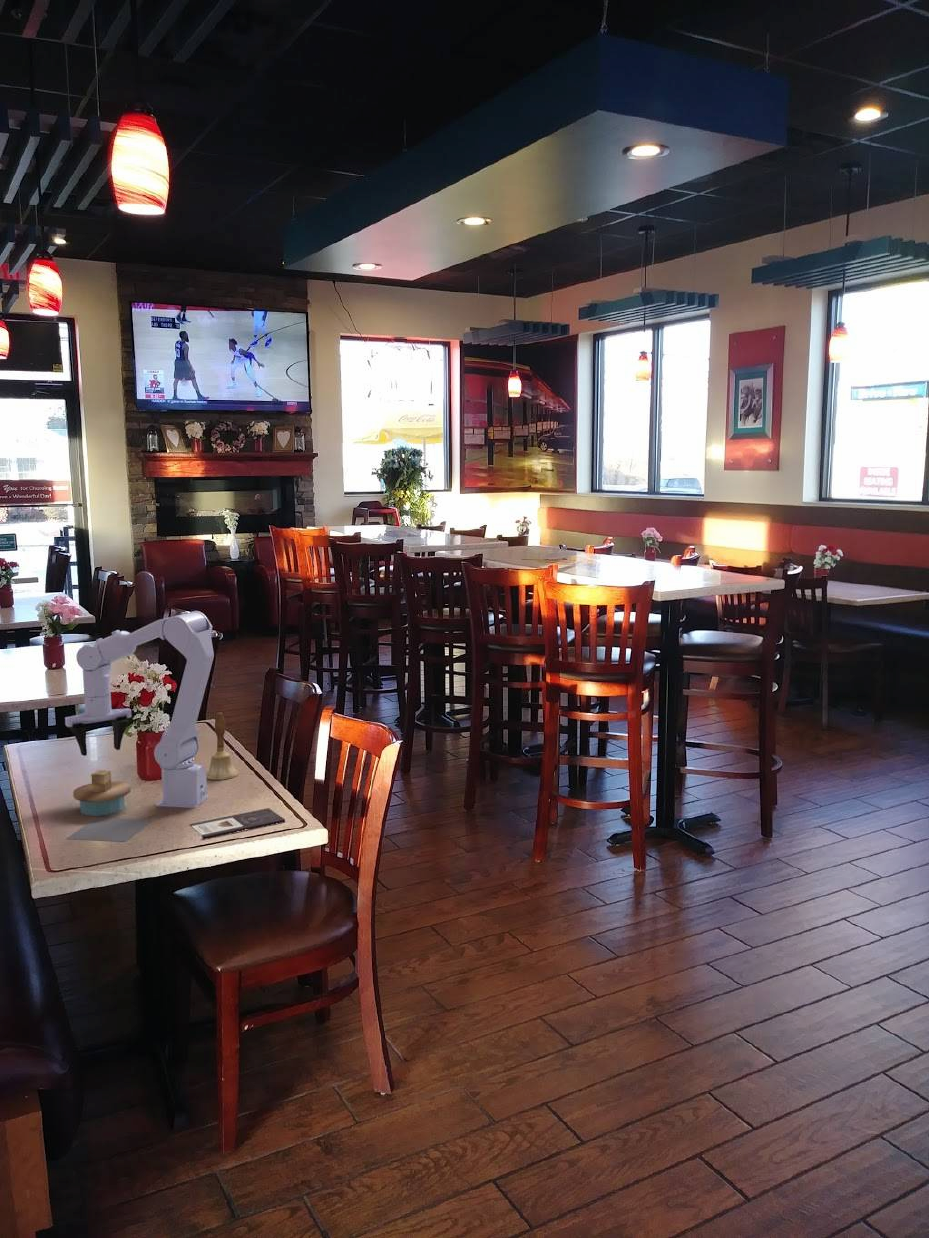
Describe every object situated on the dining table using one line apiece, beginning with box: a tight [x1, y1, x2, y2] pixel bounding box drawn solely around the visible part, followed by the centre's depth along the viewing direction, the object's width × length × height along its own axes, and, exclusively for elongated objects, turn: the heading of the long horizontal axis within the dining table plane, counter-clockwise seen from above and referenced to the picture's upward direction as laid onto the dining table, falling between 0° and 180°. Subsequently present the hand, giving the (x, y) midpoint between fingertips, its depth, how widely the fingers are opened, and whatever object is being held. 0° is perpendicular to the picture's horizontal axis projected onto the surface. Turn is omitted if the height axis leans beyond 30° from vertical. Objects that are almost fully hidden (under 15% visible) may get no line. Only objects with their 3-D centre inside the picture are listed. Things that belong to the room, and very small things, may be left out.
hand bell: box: [206, 711, 239, 781], centre depth 243 cm, size 8×8×16 cm
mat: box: [65, 816, 154, 843], centre depth 206 cm, size 13×13×1 cm
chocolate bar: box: [189, 807, 286, 840], centre depth 210 cm, size 9×1×18 cm
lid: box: [72, 769, 132, 802], centre depth 218 cm, size 12×12×5 cm
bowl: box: [79, 796, 125, 817], centre depth 219 cm, size 9×9×4 cm
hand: (100, 751), depth 228 cm, fingers open, 7 cm apart
